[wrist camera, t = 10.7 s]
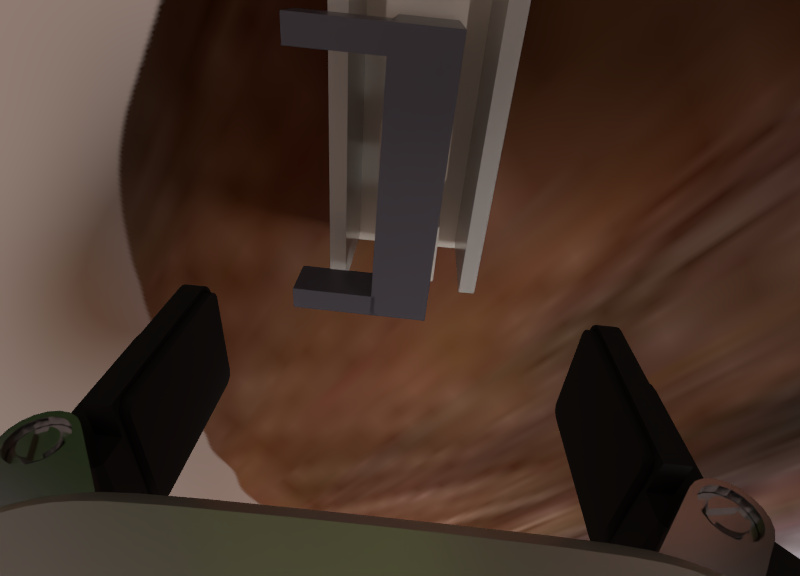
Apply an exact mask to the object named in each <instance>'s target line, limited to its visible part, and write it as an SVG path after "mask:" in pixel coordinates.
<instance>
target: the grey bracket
mask: <svg viewBox="0 0 800 576" xmlns="http://www.w3.org/2000/svg"><path fill="white" fill-rule="evenodd" d="M279 11H280V31H281V45H284V46H293V47H303V48H312V49H322V50H331V51H341V52H350V53H360V54H369V55H379V56H387V57H386V72H385V88H384V104H383V119H382V135H381V150H380V166H379V182H378V197H377V213H376V228H375V244H374V260H373V273H366V272H357V271H348V270H338V269H329V268H320V267H310V266H303V268H302V270H301V273H300V275H299V277H298V279H297V281H296V283H295V285H294V287H293V298H294V307H302V308H311V309H321V310H330V311H339V312H348V313H358V314H367V315H376V316H385V317H394V318H404V319H413V320H422V321H424V320H425V313H426V306H427V299H428V292H429V286H430V279H431V272H432V265H433V258H434V252H435V245H436V238H437V231H438V224H439V217H440V211H441V204H442V197H443V190H444V183H445V176H446V170H447V163H448V156H449V149H450V142H451V135H452V129H453V122H454V115H455V108H456V101H457V95H458V88H459V81H460V74H461V67H462V60H463V54H464V47H465V40H466V33H467V29H466V28H465V26H464V25H463V24H462V23H461V21H460V20H451V19H442V18H432V17H423V16H413V15H404V14H398V15H397V16H396V17H394V18H388V17H379V16H369V15H360V14H350V13H341V12H331V11H322V10H312V9H303V8H290V9H283V10H279Z"/></svg>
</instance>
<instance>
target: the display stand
mask: <svg viewBox="0 0 800 576" xmlns="http://www.w3.org/2000/svg"><path fill="white" fill-rule="evenodd" d="M327 2H328V11H331V12H341V13H350V14H360V15H369V16H379V17H388V18H394V17H396V16H397V15H398V14H404V15H413V16H423V17H432V18H442V19H451V20H460V21H461V23H462V24H463V25H464V26H465V28H466V29H467V33H466V40H465V47H464V54H463V60H462V67H461V74H460V81H459V88H458V95H457V101H456V108H455V115H454V122H453V129H452V135H451V142H450V149H449V156H448V163H447V170H446V176H445V183H444V190H443V197H442V204H441V211H440V217H439V224H438V231H437V238H436V245H435V252H434V258H433V265H432V272H431V279H430V281H433V275H434V267H435V260H436V252H437V246H438V247H449V248H455V253H456V266H457V279H458V292H464V293H474V290H475V285H476V280H477V274H478V269H479V264H480V259H481V254H482V249H483V244H484V239H485V234H486V228H487V223H488V218H489V213H490V208H491V203H492V198H493V193H494V187H495V182H496V177H497V172H498V167H499V162H500V157H501V152H502V147H503V141H504V136H505V131H506V126H507V121H508V116H509V111H510V106H511V100H512V95H513V90H514V85H515V80H516V75H517V70H518V65H519V59H520V54H521V49H522V44H523V39H524V34H525V29H526V24H527V19H528V13H529V8H530V3H531V0H327ZM386 57H387V56H379V55H369V54H360V53H350V52H341V51H331V50H328V93H329V184H330V269H338V270H348V271H349V269H350V265H351V262H352V259H353V255H354V252H355V249H356V246H357V242H358V239H365V240H375V228H376V213H377V197H378V182H379V166H380V150H381V135H382V119H383V104H384V88H385V72H386Z"/></svg>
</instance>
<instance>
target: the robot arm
mask: <svg viewBox="0 0 800 576" xmlns="http://www.w3.org/2000/svg"><path fill="white" fill-rule="evenodd" d="M229 376H230V368H229V363H228V357H227V351H226V346H225V340H224V334H223V329H222V323H221V317H220V312H219V306H218V300H217V296H216V294H215V293H211V292H210V290H209V288H208V287H206V286H196V285H186V284H185V285H182V286H181V287H180V288H179V289H178V290H177V292H176V293H175V294H174V295H173V296H172V297H171V299H170V300H169V301H168V302H167V303H166V304H165V306H164V307H163V308H162V309H161V310H160V311H159V313H158V314H157V315H156V316H155V317H154V318H153V320H152V321H151V322H150V323H149V324H148V325H147V327H146V328H145V329H144V330H143V331H142V332H141V334H139V335H138V336H137V337H136V338H135V339H134V340H133V341H132V343H131V344H130V345H129V346H128V347H127V349H126V350H125V351H124V352H123V353H122V354H121V355H120V357H119V358H118V359H117V360H116V361H115V362H114V364H113V365H112V366H111V367H110V368H109V369H108V371H107V372H106V373H105V374H104V375H103V376H102V378H101V379H100V380H99V381H98V382H97V383H96V385H95V386H94V387H93V388H92V389H91V390H90V392H89V393H88V394H87V395H86V396H85V397H84V399H83V400H82V401H81V402H80V403H79V404H78V406H77V407H76V408H75V409H74V410H73V411H72V413H70V412H64V411H49V412H44V413H40V414H36V415H33V416H31V417H29V418H26V419H24V420H22V421H20V422H18V423H17V424H15V425H14V426H12V427H10V428H9V429H8V430H7V431H6V432H5V433H3V434H2V435H1V436H0V576H800V559H799V558H797V557H796V556H794V555H793V554H792V553H790V552H789V551H787V550H786V549H784V548H783V547H781V546H780V545H778V544H777V543H776V542H775V529H774V526H773V524H772V521H771V519H770V517H769V516H768V515H767V513H766V512H765V510H764V509H763V508H762V507H761V506H760V505H759V504H758V503H757V502H756V501H755V500H754V499H753V498H752V497H751V496H750V495H748V494H747V493H745V492H744V491H742V490H741V489H740V488H738V487H736V486H734V485H732V484H730V483H727V482H725V481H721V480H718V479H713V478H703V477H702V475H701V473H700V471H699V469H698V467H697V466H696V464H695V462H694V460H693V458H692V456H691V455H690V453H689V451H688V449H687V447H686V445H685V443H684V442H683V440H682V438H681V436H680V434H679V432H678V431H677V429H676V427H675V425H674V423H673V421H672V420H671V418H670V416H669V414H668V412H667V410H666V409H665V407H664V405H663V403H662V401H661V399H660V398H659V396H658V394H657V392H656V390H655V389H654V387H653V386H652V385H651V384H649V382H648V380H647V378H646V376H645V375H644V373H643V371H642V369H641V367H640V365H639V363H638V362H637V360H636V358H635V356H634V354H633V352H632V350H631V349H630V347H629V345H628V343H627V341H626V339H625V337H624V336H623V334H622V332H621V330H620V329H619V328H617V327H610V326H600V325H594V326H592V327H591V329H590V330H585V331H584V332H583V334H582V336H581V339H580V342H579V344H578V347H577V350H576V352H575V355H574V358H573V360H572V363H571V366H570V368H569V371H568V374H567V376H566V379H565V382H564V384H563V387H562V390H561V392H560V395H559V398H558V400H557V403H556V408H555V414H556V420H557V423H558V427H559V431H560V434H561V438H562V441H563V445H564V449H565V452H566V456H567V459H568V463H569V467H570V470H571V474H572V477H573V481H574V485H575V488H576V492H577V495H578V499H579V503H580V506H581V510H582V513H583V517H584V521H585V524H586V528H587V532H588V535H589V538H590V541H587V540H579V539H571V538H564V537H556V536H548V535H540V534H531V533H522V532H513V531H504V530H495V529H486V528H477V527H468V526H459V525H450V524H441V523H432V522H422V521H413V520H404V519H394V518H385V517H376V516H366V515H357V514H347V513H338V512H328V511H319V510H309V509H299V508H289V507H279V506H269V505H259V504H249V503H240V502H230V501H220V500H209V499H198V498H186V497H175V496H168V495H169V494H170V492H171V490H172V488H173V486H174V484H175V483H176V480H177V479H178V477H179V475H180V473H181V471H182V469H183V467H184V465H185V463H186V461H187V460H188V458H189V456H190V454H191V452H192V450H193V448H194V447H195V445H196V443H197V441H198V439H199V437H200V435H201V433H202V431H203V429H204V428H205V426H206V424H207V422H208V420H209V418H210V416H211V414H212V412H213V410H214V409H215V407H216V405H217V403H218V401H219V399H220V397H221V395H222V393H223V392H224V390H225V388H226V386H227V384H228V381H229Z"/></svg>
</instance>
